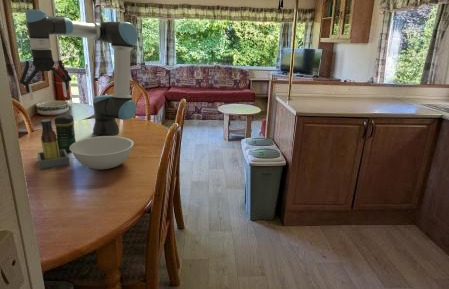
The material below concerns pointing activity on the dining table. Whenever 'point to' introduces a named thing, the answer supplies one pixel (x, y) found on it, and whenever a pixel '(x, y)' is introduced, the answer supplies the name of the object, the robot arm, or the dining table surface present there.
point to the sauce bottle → (49, 141)
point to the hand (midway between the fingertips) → (49, 98)
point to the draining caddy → (53, 160)
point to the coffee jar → (65, 131)
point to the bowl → (102, 151)
